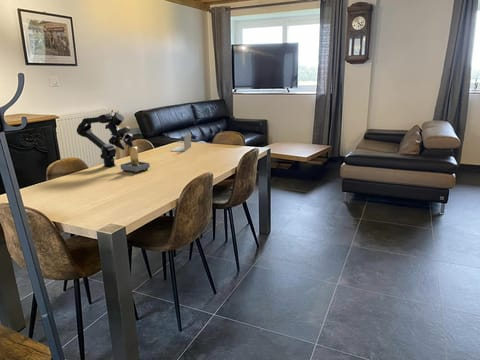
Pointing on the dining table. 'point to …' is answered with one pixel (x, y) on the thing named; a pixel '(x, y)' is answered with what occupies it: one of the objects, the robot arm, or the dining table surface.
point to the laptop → (186, 144)
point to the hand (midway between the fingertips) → (128, 148)
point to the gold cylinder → (134, 156)
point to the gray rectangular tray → (135, 169)
